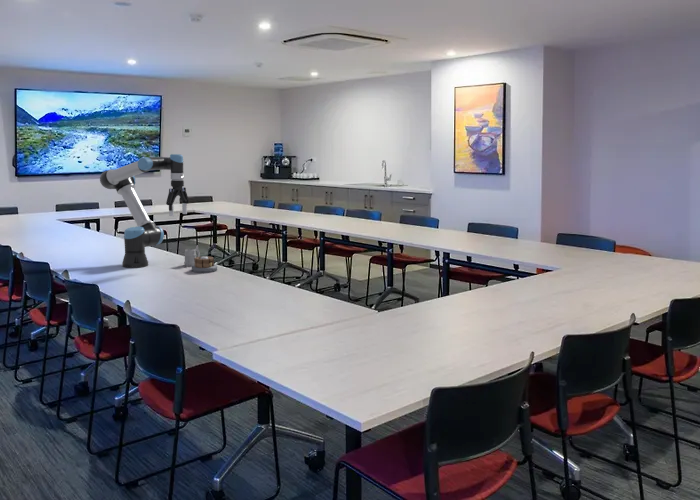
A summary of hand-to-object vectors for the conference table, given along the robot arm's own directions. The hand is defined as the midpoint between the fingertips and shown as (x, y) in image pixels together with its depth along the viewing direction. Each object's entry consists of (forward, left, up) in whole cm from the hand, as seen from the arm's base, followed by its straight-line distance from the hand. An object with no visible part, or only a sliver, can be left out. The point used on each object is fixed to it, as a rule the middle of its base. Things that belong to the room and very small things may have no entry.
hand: (178, 215), depth 382 cm
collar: (+21, -5, -29) cm, 36 cm away
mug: (+5, +7, -32) cm, 33 cm away
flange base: (+21, -5, -32) cm, 38 cm away
